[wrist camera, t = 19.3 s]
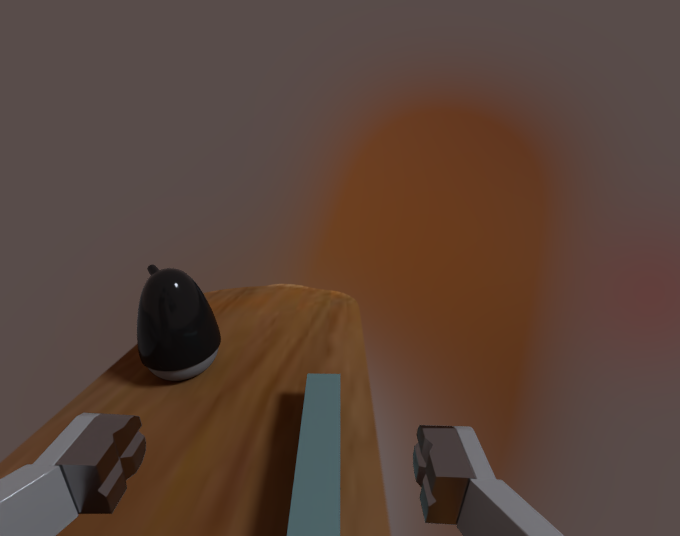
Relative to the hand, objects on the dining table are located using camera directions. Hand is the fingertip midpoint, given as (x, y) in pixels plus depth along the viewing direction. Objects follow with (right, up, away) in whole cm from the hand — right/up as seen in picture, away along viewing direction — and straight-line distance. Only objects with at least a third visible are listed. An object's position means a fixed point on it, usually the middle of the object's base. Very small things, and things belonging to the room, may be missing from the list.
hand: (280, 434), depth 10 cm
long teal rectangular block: (0, -16, +24) cm, 29 cm away
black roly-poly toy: (-20, -9, +38) cm, 44 cm away
